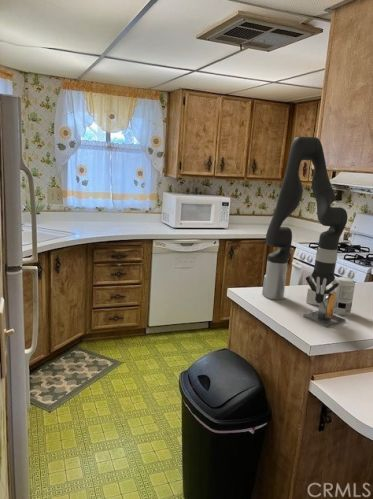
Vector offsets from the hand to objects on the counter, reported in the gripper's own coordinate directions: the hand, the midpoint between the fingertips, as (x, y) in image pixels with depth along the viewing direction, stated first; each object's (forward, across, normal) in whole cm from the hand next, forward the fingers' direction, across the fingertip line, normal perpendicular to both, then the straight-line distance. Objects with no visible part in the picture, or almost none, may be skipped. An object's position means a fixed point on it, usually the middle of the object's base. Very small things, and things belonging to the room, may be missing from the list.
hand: (318, 302), depth 158 cm
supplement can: (+10, +5, +23) cm, 25 cm away
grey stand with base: (+10, +1, +9) cm, 13 cm away
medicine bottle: (+10, -7, +28) cm, 30 cm away
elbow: (+5, +3, +6) cm, 8 cm away
